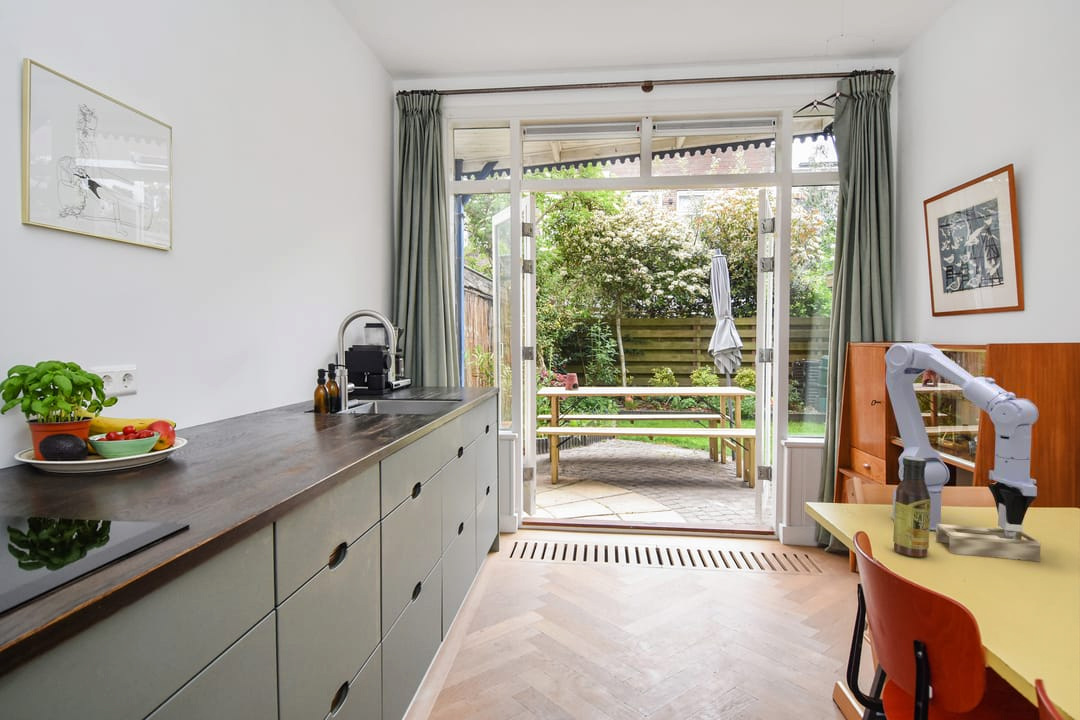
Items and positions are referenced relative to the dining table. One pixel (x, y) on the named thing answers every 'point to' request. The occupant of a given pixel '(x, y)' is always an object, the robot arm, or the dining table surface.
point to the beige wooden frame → (987, 542)
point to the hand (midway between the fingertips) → (1010, 521)
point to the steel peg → (1003, 523)
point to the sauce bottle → (912, 510)
